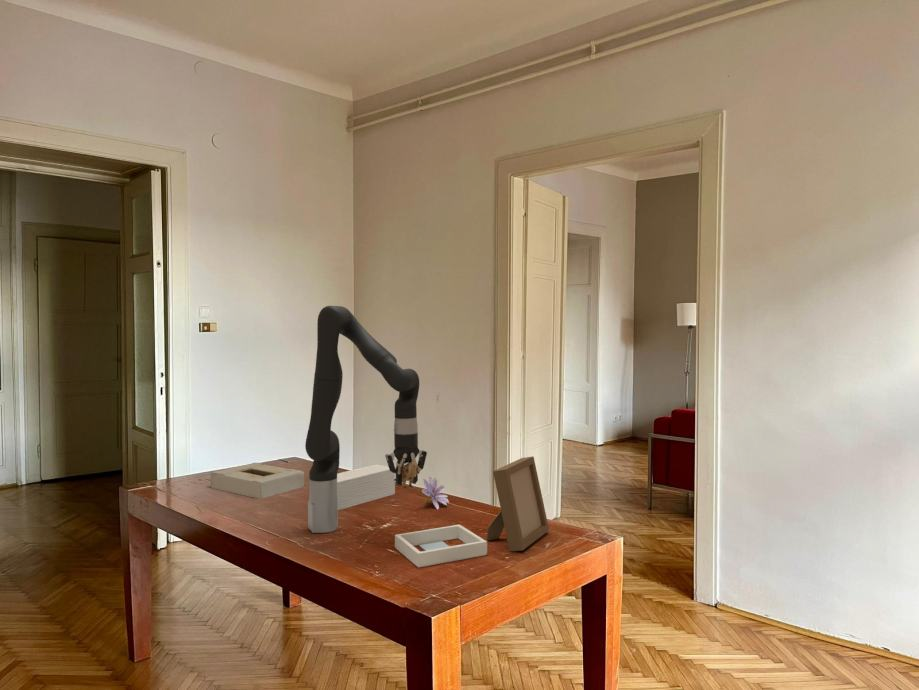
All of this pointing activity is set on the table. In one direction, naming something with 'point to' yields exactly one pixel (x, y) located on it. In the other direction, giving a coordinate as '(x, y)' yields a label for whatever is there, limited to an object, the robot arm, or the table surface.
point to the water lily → (435, 492)
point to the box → (257, 480)
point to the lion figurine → (409, 474)
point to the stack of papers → (364, 485)
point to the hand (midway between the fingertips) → (406, 484)
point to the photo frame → (519, 505)
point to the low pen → (440, 545)
